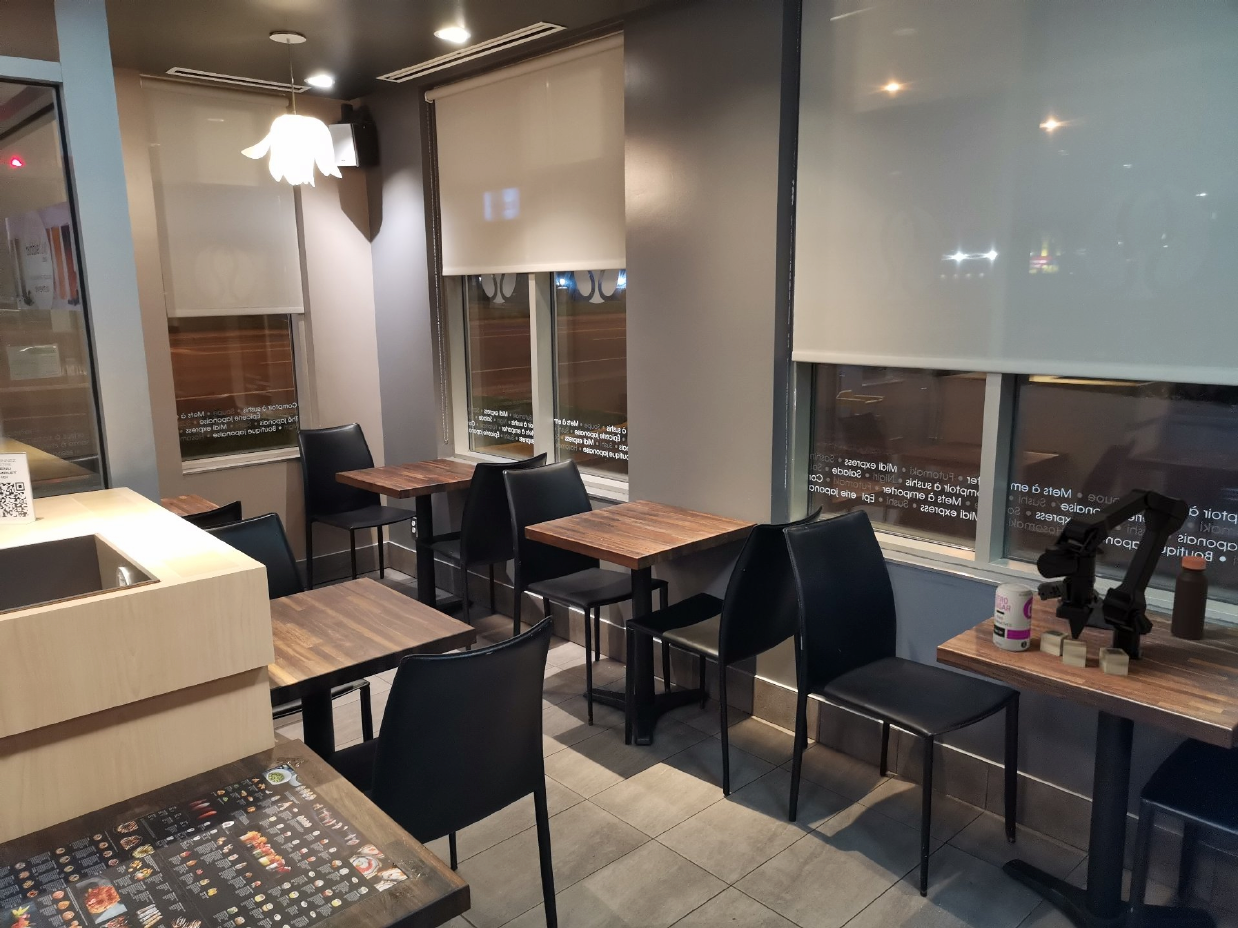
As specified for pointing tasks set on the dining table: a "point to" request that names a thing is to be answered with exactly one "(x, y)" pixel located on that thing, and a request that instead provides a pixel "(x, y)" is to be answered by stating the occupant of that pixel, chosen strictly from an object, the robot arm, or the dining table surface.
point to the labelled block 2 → (1113, 661)
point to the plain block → (1074, 653)
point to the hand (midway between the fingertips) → (1075, 638)
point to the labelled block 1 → (1053, 641)
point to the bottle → (1190, 599)
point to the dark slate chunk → (1095, 615)
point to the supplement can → (1013, 616)
